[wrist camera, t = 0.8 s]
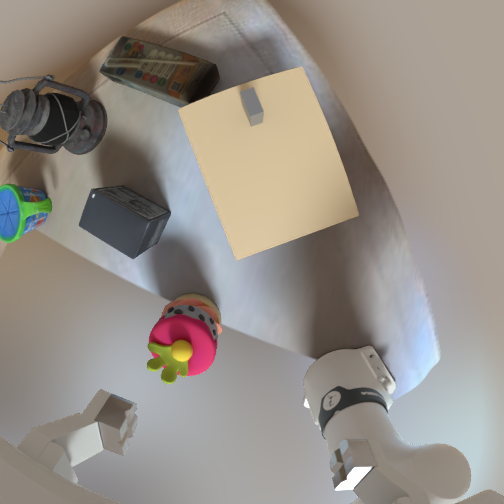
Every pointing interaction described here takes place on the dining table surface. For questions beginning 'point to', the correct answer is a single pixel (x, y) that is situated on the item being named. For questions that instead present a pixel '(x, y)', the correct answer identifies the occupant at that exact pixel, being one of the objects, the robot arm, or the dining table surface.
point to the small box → (123, 219)
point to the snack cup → (21, 211)
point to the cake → (185, 337)
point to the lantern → (52, 119)
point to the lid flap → (269, 161)
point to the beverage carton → (160, 71)
